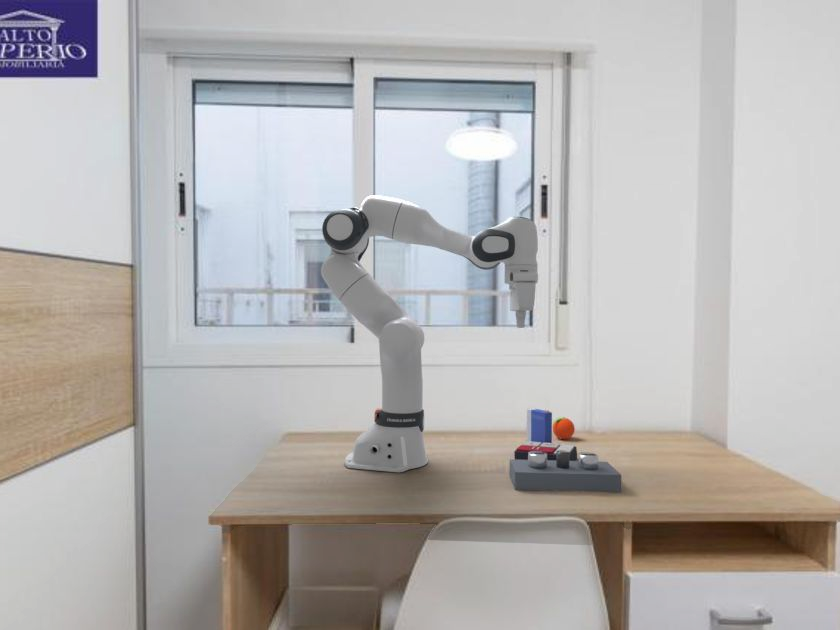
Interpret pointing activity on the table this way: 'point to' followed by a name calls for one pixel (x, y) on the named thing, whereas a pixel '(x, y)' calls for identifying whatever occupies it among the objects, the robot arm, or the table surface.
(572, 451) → the calculator
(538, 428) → the walkman
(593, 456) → the knob
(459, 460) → the table surface
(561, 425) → the clementine
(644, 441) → the table surface
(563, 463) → the dial
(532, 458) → the knob
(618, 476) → the panel
